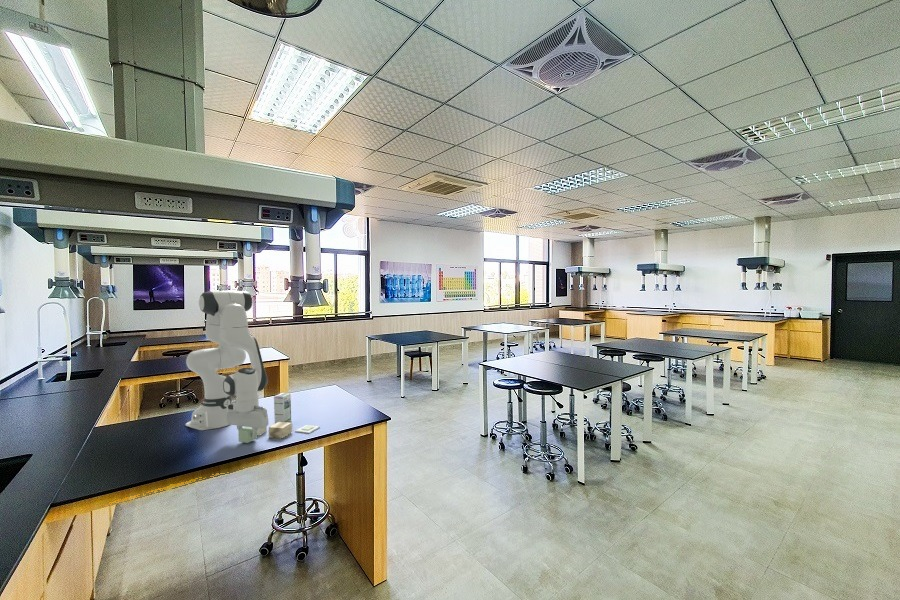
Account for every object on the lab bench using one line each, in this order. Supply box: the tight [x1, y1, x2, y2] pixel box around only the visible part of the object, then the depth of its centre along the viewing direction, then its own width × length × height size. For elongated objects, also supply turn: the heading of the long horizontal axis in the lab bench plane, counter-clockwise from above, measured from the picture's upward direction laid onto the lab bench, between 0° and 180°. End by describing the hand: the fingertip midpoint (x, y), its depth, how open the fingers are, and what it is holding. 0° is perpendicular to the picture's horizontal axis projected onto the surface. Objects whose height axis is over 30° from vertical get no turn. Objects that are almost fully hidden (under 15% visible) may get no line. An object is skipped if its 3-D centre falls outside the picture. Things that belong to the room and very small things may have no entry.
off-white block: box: [257, 426, 268, 436], centre depth 171 cm, size 5×5×5 cm
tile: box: [294, 424, 321, 434], centre depth 175 cm, size 8×8×1 cm
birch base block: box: [268, 421, 293, 439], centre depth 169 cm, size 7×7×5 cm
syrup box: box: [273, 392, 292, 424], centre depth 185 cm, size 6×6×14 cm
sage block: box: [237, 426, 258, 444], centre depth 161 cm, size 5×5×5 cm
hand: (247, 435), depth 161 cm, fingers closed on sage block, 5 cm apart
